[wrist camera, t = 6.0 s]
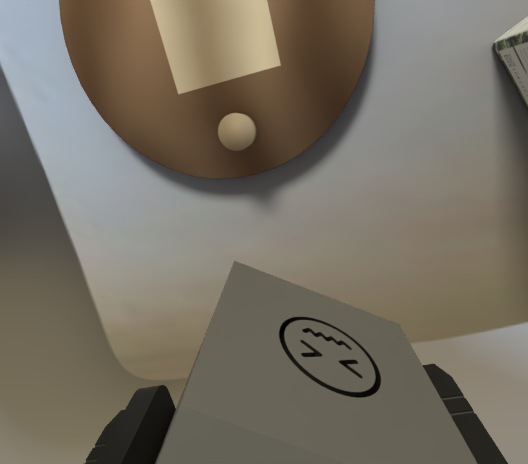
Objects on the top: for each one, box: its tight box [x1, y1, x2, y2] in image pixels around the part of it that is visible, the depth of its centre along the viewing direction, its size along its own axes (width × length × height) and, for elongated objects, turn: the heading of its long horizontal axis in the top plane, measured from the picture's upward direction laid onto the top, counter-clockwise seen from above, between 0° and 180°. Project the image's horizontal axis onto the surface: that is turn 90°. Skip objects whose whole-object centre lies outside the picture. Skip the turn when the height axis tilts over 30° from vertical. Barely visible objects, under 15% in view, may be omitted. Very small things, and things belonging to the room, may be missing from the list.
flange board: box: [59, 0, 375, 179], centre depth 19 cm, size 18×18×4 cm
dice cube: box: [155, 261, 478, 464], centre depth 8 cm, size 5×5×5 cm
